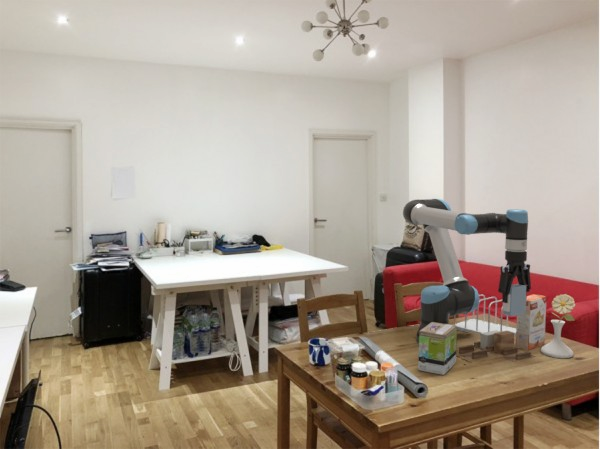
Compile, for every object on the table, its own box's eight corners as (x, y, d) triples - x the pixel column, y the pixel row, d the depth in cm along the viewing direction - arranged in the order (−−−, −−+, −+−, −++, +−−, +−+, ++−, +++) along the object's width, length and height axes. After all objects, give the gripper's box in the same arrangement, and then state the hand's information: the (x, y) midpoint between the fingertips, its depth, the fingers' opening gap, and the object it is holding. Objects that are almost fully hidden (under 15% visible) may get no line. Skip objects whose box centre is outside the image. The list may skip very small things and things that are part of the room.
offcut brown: (493, 351, 198) (494, 332, 197) (506, 348, 201) (506, 330, 200) (501, 354, 194) (501, 335, 194) (513, 351, 198) (514, 332, 197)
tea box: (445, 376, 175) (445, 334, 174) (417, 370, 181) (417, 330, 180) (456, 363, 188) (457, 324, 187) (430, 358, 194) (430, 320, 192)
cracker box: (529, 352, 199) (531, 300, 197) (515, 349, 203) (516, 298, 202) (545, 345, 208) (547, 295, 206) (531, 342, 212) (532, 293, 211)
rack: (473, 349, 204) (473, 342, 204) (494, 344, 209) (494, 337, 209) (514, 364, 186) (514, 356, 186) (536, 359, 191) (536, 351, 191)
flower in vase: (533, 353, 198) (535, 291, 196) (555, 350, 202) (557, 288, 200) (561, 364, 186) (563, 297, 184) (584, 360, 190) (586, 295, 188)
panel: (503, 314, 191) (504, 285, 190) (517, 311, 195) (518, 283, 194) (510, 316, 188) (511, 287, 187) (525, 313, 192) (526, 285, 191)
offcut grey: (480, 347, 202) (480, 333, 202) (496, 344, 206) (496, 330, 206) (487, 350, 199) (487, 335, 199) (503, 346, 203) (503, 332, 203)
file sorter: (451, 329, 234) (451, 296, 232) (472, 322, 244) (472, 290, 243) (501, 341, 214) (502, 305, 213) (522, 333, 225) (523, 299, 224)
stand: (455, 356, 195) (455, 347, 195) (474, 352, 200) (474, 343, 200) (471, 362, 188) (471, 353, 188) (490, 358, 193) (490, 349, 193)
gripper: (505, 253, 181) (503, 315, 183) (543, 249, 191) (540, 308, 193) (488, 251, 188) (487, 310, 190) (525, 247, 198) (524, 304, 200)
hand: (514, 309), depth 191 cm, fingers closed on panel, 8 cm apart
